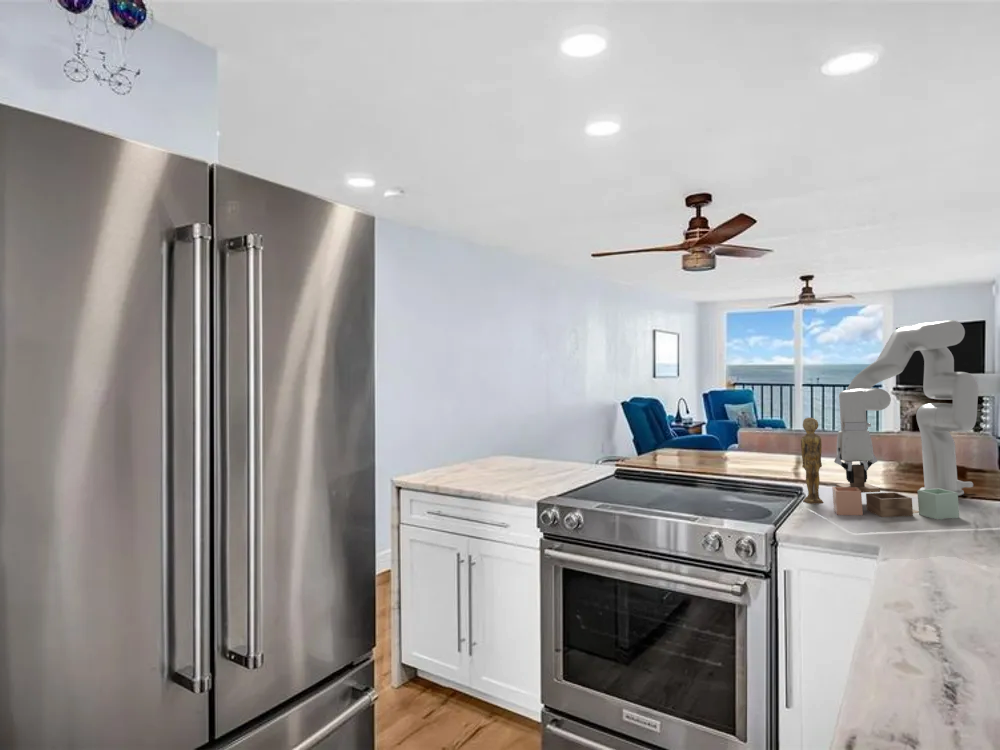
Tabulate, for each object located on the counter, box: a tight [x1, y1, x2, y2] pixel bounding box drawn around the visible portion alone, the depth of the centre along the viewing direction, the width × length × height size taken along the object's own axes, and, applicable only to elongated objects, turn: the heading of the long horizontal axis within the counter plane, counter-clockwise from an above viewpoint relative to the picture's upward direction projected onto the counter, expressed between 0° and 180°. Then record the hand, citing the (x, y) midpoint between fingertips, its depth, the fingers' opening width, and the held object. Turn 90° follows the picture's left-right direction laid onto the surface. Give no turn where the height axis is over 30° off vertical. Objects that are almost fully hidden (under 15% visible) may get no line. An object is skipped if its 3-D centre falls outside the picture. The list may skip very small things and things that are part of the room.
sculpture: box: [800, 417, 824, 505], centre depth 210 cm, size 7×6×30 cm
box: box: [865, 491, 914, 518], centre depth 190 cm, size 9×9×6 cm
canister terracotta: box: [832, 486, 864, 516], centre depth 194 cm, size 7×7×8 cm
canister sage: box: [916, 488, 960, 520], centre depth 183 cm, size 7×7×8 cm
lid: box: [835, 463, 881, 494], centre depth 203 cm, size 10×10×8 cm
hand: (856, 481), depth 203 cm, fingers closed on lid, 3 cm apart
